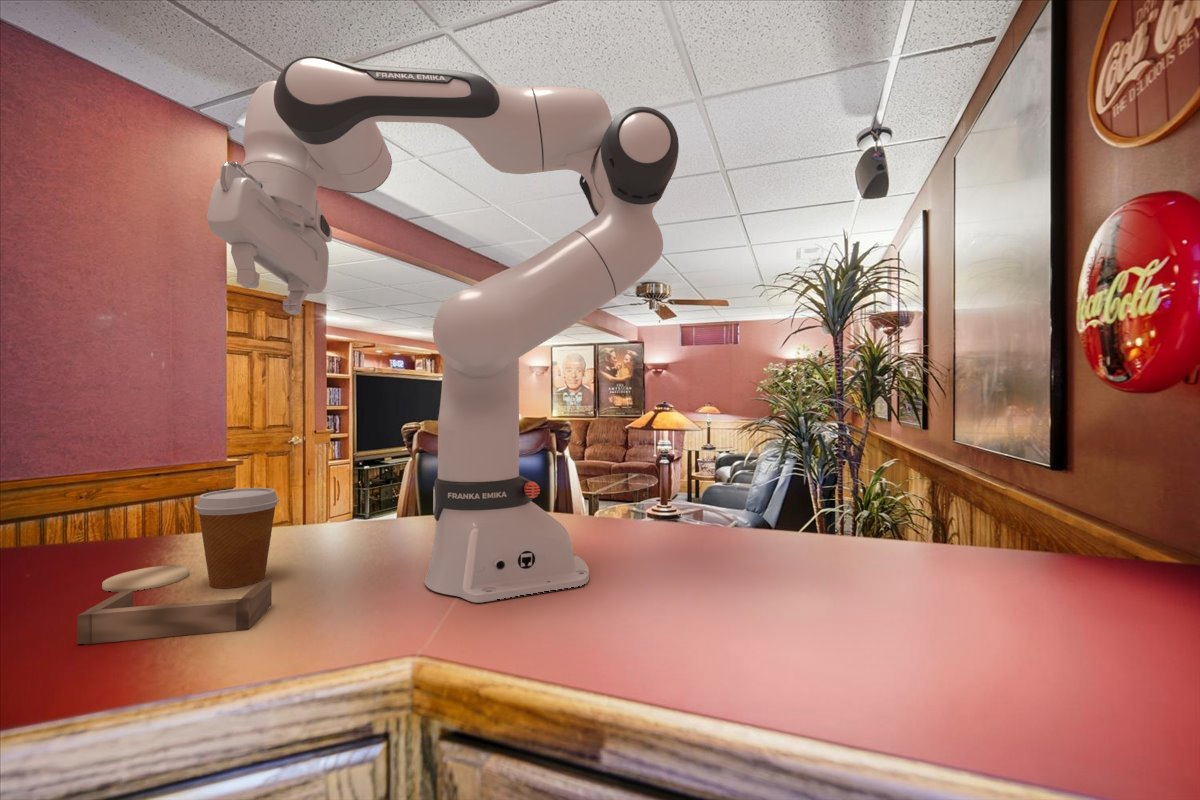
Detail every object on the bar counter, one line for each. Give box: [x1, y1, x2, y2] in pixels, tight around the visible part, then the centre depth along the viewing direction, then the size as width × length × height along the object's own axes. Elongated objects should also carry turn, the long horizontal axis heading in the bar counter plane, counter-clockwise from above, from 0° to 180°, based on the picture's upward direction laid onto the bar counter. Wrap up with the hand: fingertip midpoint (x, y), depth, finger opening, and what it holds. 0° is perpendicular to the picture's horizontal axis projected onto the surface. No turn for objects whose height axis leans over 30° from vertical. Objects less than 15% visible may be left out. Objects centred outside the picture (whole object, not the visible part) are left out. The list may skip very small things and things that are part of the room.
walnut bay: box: [77, 580, 273, 645], centre depth 58 cm, size 15×7×3 cm, turn 104°
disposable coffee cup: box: [194, 487, 280, 589], centre depth 72 cm, size 10×10×12 cm
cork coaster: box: [101, 564, 190, 593], centre depth 72 cm, size 9×9×1 cm
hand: (271, 300), depth 67 cm, fingers open, 8 cm apart
